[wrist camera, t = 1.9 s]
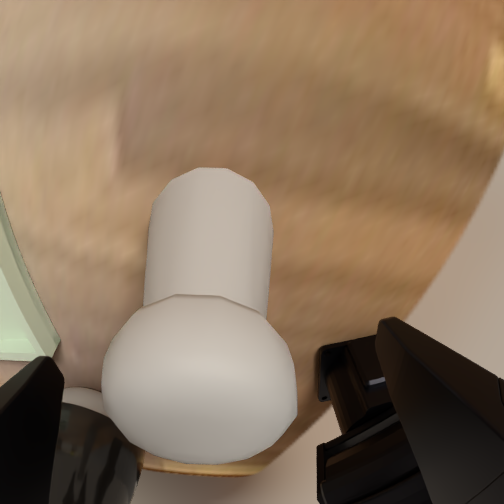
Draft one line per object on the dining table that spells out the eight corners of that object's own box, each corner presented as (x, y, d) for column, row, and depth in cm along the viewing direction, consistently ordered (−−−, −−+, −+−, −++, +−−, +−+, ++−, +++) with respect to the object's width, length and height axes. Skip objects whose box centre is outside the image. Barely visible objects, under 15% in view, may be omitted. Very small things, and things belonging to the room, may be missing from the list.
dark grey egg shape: (82, 434, 26) (57, 555, 13) (27, 369, 22) (-29, 511, 8) (166, 435, 26) (159, 578, 13) (119, 365, 22) (79, 556, 8)
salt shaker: (272, 250, 18) (336, 470, 7) (174, 268, 18) (131, 488, 7) (257, 148, 16) (352, 296, 4) (147, 170, 16) (2, 343, 4)
